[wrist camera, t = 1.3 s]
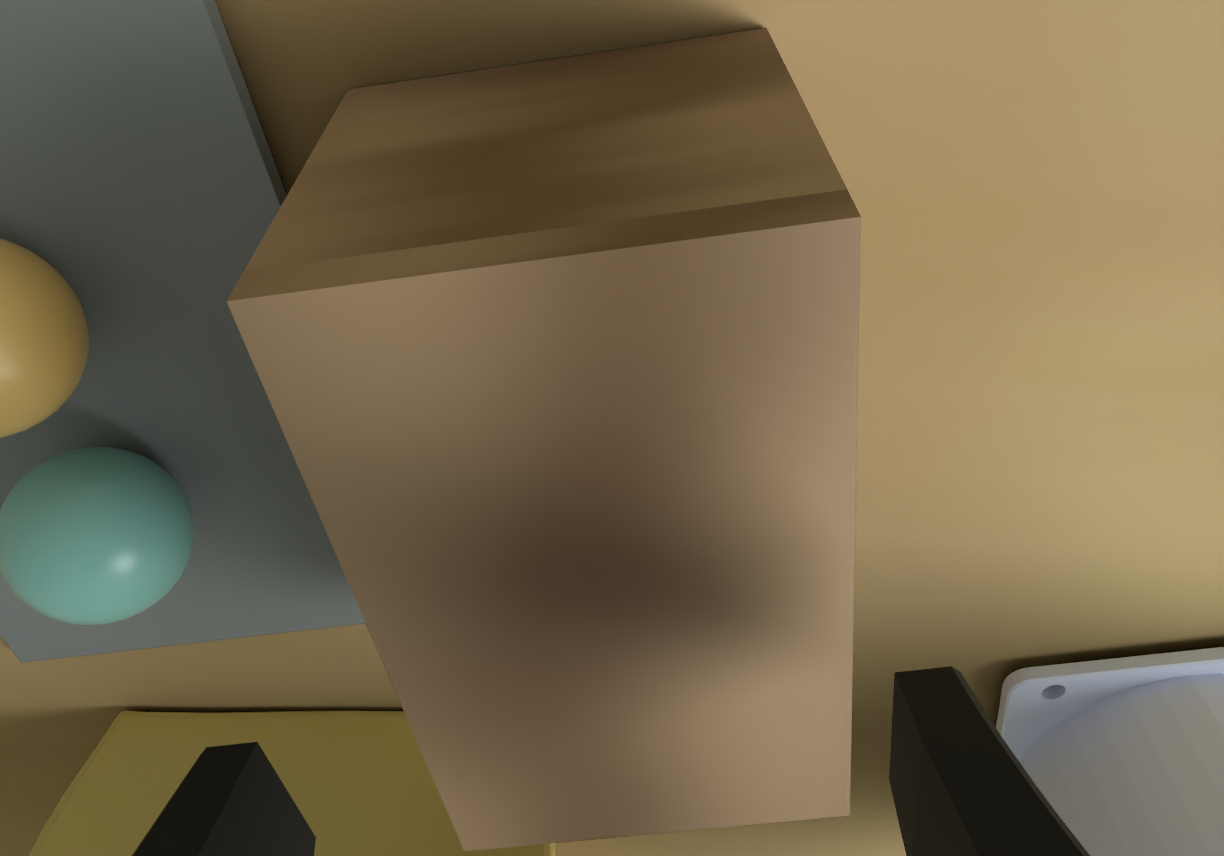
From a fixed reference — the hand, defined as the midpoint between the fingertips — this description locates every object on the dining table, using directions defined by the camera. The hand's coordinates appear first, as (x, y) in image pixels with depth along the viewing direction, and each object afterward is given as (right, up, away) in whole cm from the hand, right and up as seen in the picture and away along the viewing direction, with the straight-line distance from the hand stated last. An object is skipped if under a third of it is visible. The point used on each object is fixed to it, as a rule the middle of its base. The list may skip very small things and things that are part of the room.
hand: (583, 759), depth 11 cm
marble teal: (-8, +3, +7) cm, 11 cm away
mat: (-9, +5, +6) cm, 11 cm away
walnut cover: (0, +5, +6) cm, 8 cm away
